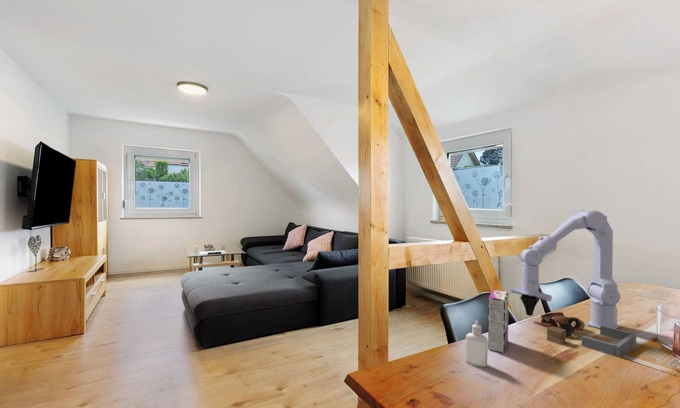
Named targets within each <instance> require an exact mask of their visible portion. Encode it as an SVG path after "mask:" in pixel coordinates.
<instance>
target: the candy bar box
mask: <svg viewBox="0 0 680 408" xmlns="http://www.w3.org/2000/svg"><path fill="white" fill-rule="evenodd" d="M487 313H488V314H487V315H488V323H487V324H488V331H487V332H488V334H487V335H488V336H487V337H488V338H487V340H488V348H487V350H489V351H493V352H498V353H503V354H505V353H506V349H507V346H508V342H509V291H503V290H496V289H493V290H492V291H491V293H490V295H489V297H488V312H487Z"/></svg>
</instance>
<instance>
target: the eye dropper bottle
mask: <svg viewBox="0 0 680 408" xmlns="http://www.w3.org/2000/svg"><path fill="white" fill-rule="evenodd" d="M471 329H472V330H471V332H468V333H467V334H466V335H465V359H464V360H465V363H467V364H469V365H472V366H476V367H481V368H485V367H487V365H488V338H487V336H485V335H484V334H482V326H481V325H480V323H479V320H475V322H474V324H472V326H471Z"/></svg>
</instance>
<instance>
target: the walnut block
mask: <svg viewBox="0 0 680 408" xmlns="http://www.w3.org/2000/svg"><path fill="white" fill-rule="evenodd" d="M546 329H547V330H546V340H547V342H551V343H553V344H557V345H563V344H564V343H566V341H567V340H566V338H567V336H566V330H564V329H561V328H560V327H553V326H552V325H551V326H550V327H548V328H546Z"/></svg>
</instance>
